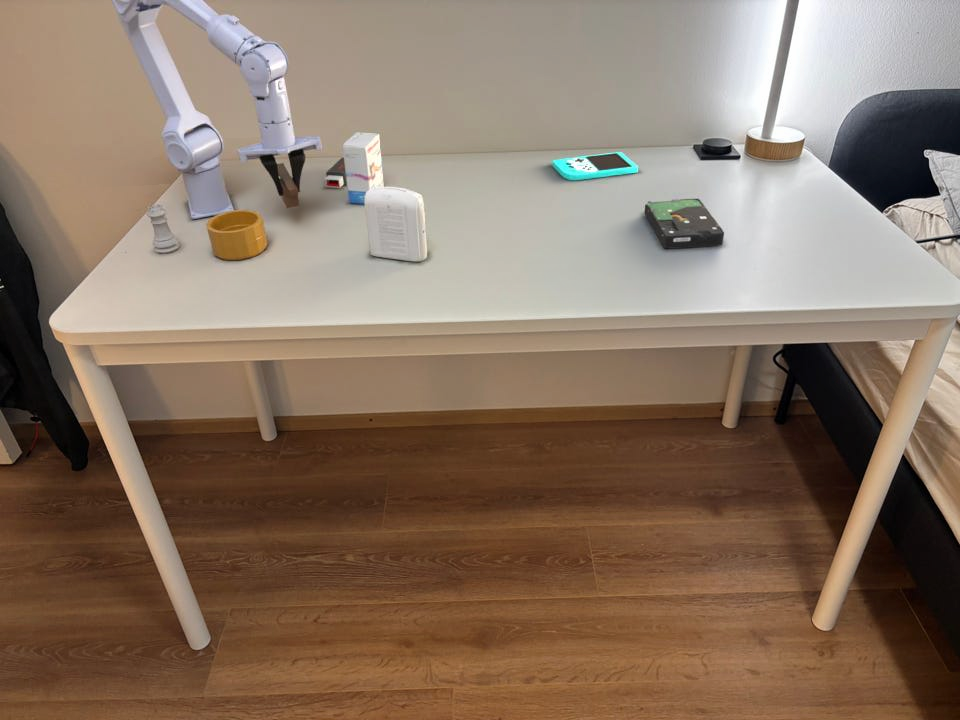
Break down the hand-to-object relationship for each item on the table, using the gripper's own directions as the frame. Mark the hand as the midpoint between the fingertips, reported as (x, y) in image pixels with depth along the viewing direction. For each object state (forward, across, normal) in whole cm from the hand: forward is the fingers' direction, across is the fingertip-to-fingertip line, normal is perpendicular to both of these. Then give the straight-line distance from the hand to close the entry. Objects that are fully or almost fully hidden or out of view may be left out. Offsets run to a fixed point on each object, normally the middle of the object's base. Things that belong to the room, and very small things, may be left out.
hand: (288, 192), depth 138 cm
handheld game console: (+6, +64, -2) cm, 64 cm away
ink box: (+6, +16, +6) cm, 18 cm away
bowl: (+6, -11, -7) cm, 14 cm away
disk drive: (+6, +63, -35) cm, 72 cm away
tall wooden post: (+2, 0, 0) cm, 2 cm away
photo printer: (+6, +14, -22) cm, 27 cm away
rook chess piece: (+6, -23, -1) cm, 24 cm away
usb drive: (+6, +14, +18) cm, 24 cm away
